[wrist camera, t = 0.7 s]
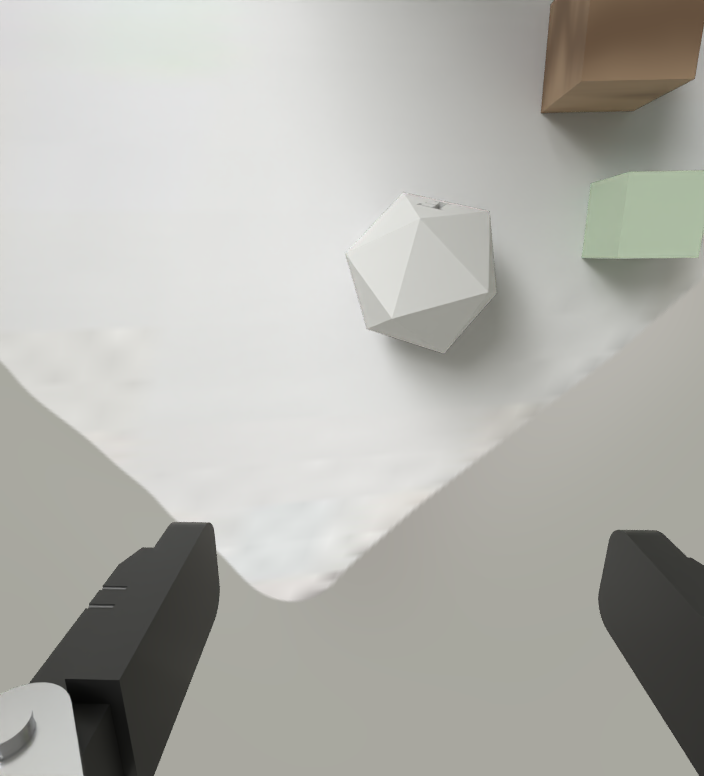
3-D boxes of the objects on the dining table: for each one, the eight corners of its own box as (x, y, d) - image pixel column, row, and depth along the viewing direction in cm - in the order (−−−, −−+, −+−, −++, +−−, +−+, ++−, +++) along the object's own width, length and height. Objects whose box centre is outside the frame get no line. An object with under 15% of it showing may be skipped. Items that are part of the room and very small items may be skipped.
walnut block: (549, 5, 27) (596, -56, 21) (647, 2, 27) (717, -60, 21) (540, 113, 28) (581, 81, 23) (632, 111, 28) (694, 78, 23)
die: (507, 277, 31) (532, 166, 23) (462, 389, 29) (471, 316, 20) (395, 248, 34) (378, 138, 25) (347, 350, 32) (309, 269, 23)
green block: (590, 183, 29) (629, 171, 25) (662, 182, 29) (714, 170, 25) (581, 257, 30) (617, 258, 26) (650, 257, 30) (698, 257, 26)
